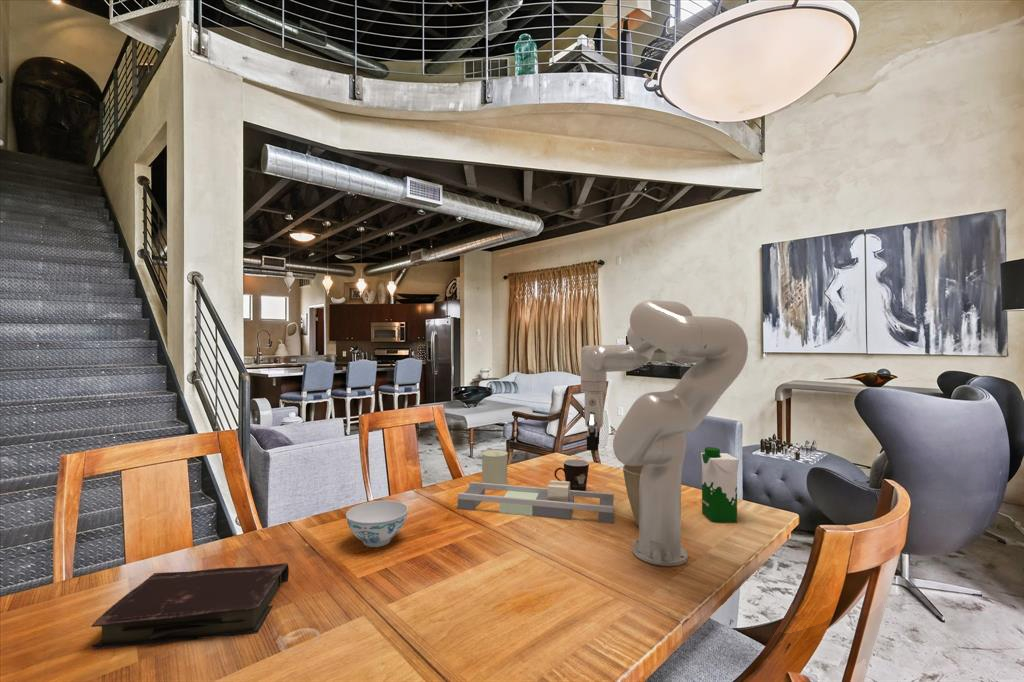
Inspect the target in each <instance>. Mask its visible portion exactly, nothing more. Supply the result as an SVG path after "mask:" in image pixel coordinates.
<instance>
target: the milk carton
mask: <svg viewBox="0 0 1024 682" xmlns="http://www.w3.org/2000/svg"><path fill="white" fill-rule="evenodd" d="M700 458H701V459H700V460H701V468H702V469H701V513H702V514H703V515H704V516H705V517H706V518H707V519H708V520H709V521H710V522H711V523H738V469H739V461H740V459H738V458H737V457H734V456H732V455H731V454H729V453H727V452H725V453H724V452H723V453H722V452H721V449H720V448H718V447H712V446H708V447H705V448H704V452H701V453H700Z"/></svg>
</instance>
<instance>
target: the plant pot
mask: <svg viewBox="0 0 1024 682" xmlns="http://www.w3.org/2000/svg"><path fill="white" fill-rule="evenodd" d="M643 466H644V465H641V466H628V465H625V464H623V465H622V472H623V476H624V477H623V478H624V483H625V485H624V486H625V489H626V492H627V497H628V501H629V505H630V508H631V511H632V515H633V517H634V520H635V522H636V523H635V524H636V526H637V527H638V526H639V481H640V474H641V471H642V468H643Z"/></svg>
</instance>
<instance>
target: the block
mask: <svg viewBox="0 0 1024 682" xmlns="http://www.w3.org/2000/svg"><path fill="white" fill-rule="evenodd" d="M547 488H548V501H559V502H569V500H570V482H567V481H565V480H561V481H559V480H553V479H551V480H550V481H549V483H548V485H547Z"/></svg>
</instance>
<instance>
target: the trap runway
mask: <svg viewBox="0 0 1024 682" xmlns="http://www.w3.org/2000/svg"><path fill="white" fill-rule="evenodd" d="M468 486H469V487H468V488H467V489H466V490H464V492H458V493H457V509H458V510H459V509H460V510H469V511H474V510H475V509H476V508H477V507H478V506H479V504H480V503H481V502H489V503H499V504H498V505H499V507H498V508H499V509H498V513H500V514H509V515H510V514H511V515H519V516H520V515H521V516H530V517H541V518H550V519H551V518H552V519H560V520H561V519H562V520H571V518H572V513H573V511H574V510H578V511H589V512H590V511H591V512H598V523H602V522H604V523H603V524H612V523H613V524H614V509H615V508H614V504H615V503H614V499H615V498H614V496H615V494H614V493H611V492H610V493H609V492H597V491H576V490H570V500H569V502H559V501H548V487H537V486H525V485H524V486H522V485H512V484H511V485H510V484H508V485H502V484H490V483H482V482H475V481H474V482H473V481H470V482H469V485H468ZM490 489H494V491H495V490H497V491H506V492H505V494H504V495H503V496H501V495H488V494H486V490H490ZM575 497H580V498H588V499H589V498H591V499H600V500H599V504H593V503H592V504H591V503H581V502H580V503H578V502H575Z"/></svg>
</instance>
